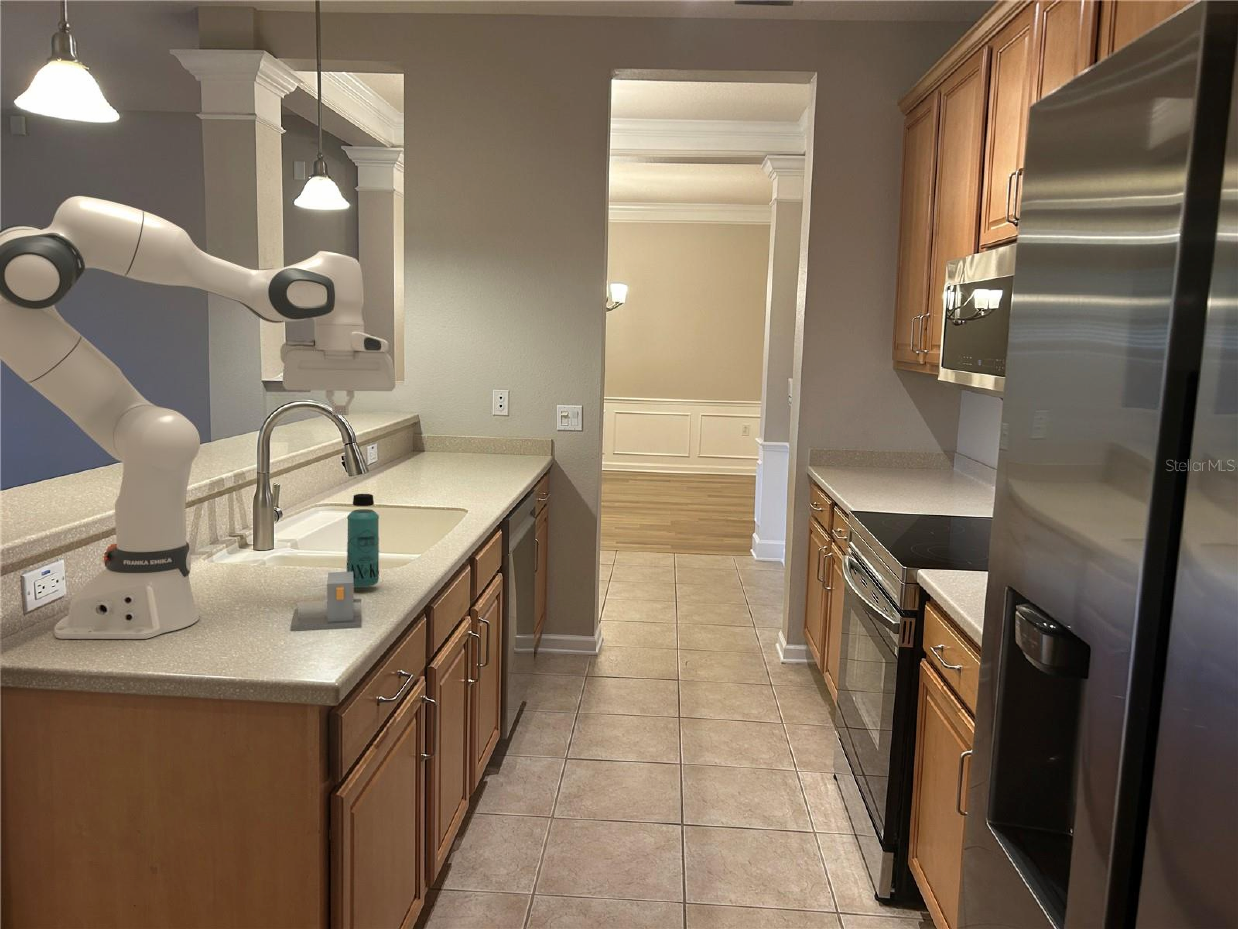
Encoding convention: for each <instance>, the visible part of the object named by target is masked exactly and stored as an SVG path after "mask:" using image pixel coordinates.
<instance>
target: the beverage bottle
mask: <svg viewBox="0 0 1238 929" xmlns="http://www.w3.org/2000/svg"><path fill="white" fill-rule="evenodd" d="M352 499H353V500H352V505H353V506H356V507H369V506H370V507H371V506H374V505H375V504H374V495H373V494H372V493H356V494H354V495H353V498H352ZM346 518H347V541H346V542H347V543H346V547H347V548H346V572H353V587H360V588H361V587H371V586H374V585H377V584H378V582H379V579H380V561H379V560H380V550H379V549H380V547H379V546H380V544H379V542H380V537H379V529H380V528H379V523H380V520H379V519H380V516H379V514H378V513H377V512H376V511H375V510H373V509H366V508H365V509H364V508H362V509H359V508H358V509H354V510H352V511H351V512H350V513H349V514H348V515H347V517H346Z"/></svg>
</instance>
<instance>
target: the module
mask: <svg viewBox="0 0 1238 929" xmlns="http://www.w3.org/2000/svg"><path fill="white" fill-rule="evenodd" d="M354 588H355V586H353V572H347V571H337V572H336V571H333V572H332V571H331V572H327V581H326V601H327V622H331V621H350V620H354V611H353V599H354V598H355V597H354V596H355V595H354V592H355V591H354Z"/></svg>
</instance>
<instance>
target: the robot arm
mask: <svg viewBox="0 0 1238 929" xmlns="http://www.w3.org/2000/svg"><path fill="white" fill-rule="evenodd" d="M86 269H97V270H102V271H106V272H109V273H112V274H115V275H118V276H123V277H126V278H128V279H132V280H136V281H139V282H146V283H149V284H150V283H151V284H155V285H164V286H176V287H177V286H178V287H179V286H180V287H182V286H184V287H190V288H194V289H197V290H202V291H205V292H207V293H211V294H215V295H216V296H221V297H224V298H226V299H229V300H233V301H235V302H238V303H240V304H241V305H242V306H244V307H245V308H246V309H248V310H249V311H250V312H251V313H252V314H254V315H255V316H256V317H257V318H259V319H260V320H262V321H264V322H268V323H274V324H282V323H285V322H301V321H305V320H307V319H312V320H313V322H314V323H313V324H314V328H313V329H314V339H313V340H311V339H305V340H299V339H289V340H288V341H286V342H285V343H283V344H282V345H281V346H280V350H279V351H280V360H281V361H282V363H283V364H284V365H283V371H282V386H283V388H284V389H286V391H318V392H319V391H325V398H326V400H327V401H328V403H329V404H330V406H331V408H332V410H331V411H332V412H331V413H332V416H349V406H350V405H351V403H352V402H353V400H354V398H355V392H393V390H395V388H396V376H395V374H396V373H395V368H394V363H393V359H392V356H390V355H389V354H388V353H387V351H388V350H389V342H388V341H387V340H385V339H384V338H379V337H377V336H375V335H373V334H368V333H365V321H364V320H363V315H362V314H363V313H362V311H363V306H364V301H365V300H364V295H365V294H364V281H363V278H364V277H363V272H362V267H361V265H360V262H359V261H358V260H357V259H356V258H355V257H353V256H352V255H350V254H347V253H344V252H340V251H337V250H336V251H334V250H333V251H332V250H325V249H324V250H323V249H322V250H319V251H317V253H316V254H314V255H313V256H311V257H309V258H307V259H305V260H302V261H300V262H297V263H294V264H291V265H287V266H283V267H278V268H261V269H252V268H247V267H244V266H241V265H238V264H237V263H236V264H235V263H233V262H230V261H227V260H224V259H222V258H220V257H216V256H213V255H210V254H208V253H206V252H205V251H203V250H201V249H200V248H198V246H196V244H195V243H194V241H193V240H192V239H191V237H190V235H189V233H187V231H186V230H185V229H183V228H182V227H180V226H178V225H177V224H175V223H173V222H171V221H169V220H166V219H165V218H162V217H160V216H158V215H156V214H153V213H150V212H148V211H145V210H142V209H139V208H136V207H132V206H130V205H126V204H122V203H118V202H114V201H110V200H107V199H102V198H96V197H89V196H83V195H77V196H75V195H74V196H71V197H69V198H67V199H65V201H63V202H62V203H61V204H60V205H59V207H58V208H57V210H56V212H55V214H54V216H53V220H52V222H51V224H49V226H47V227H46V228H42V227H39V226H37V225H33V224H25V223H21V224H13V225H9V226H6V227H4V228H2V229H0V359H1V361H2V362H3V363H4V364H5V365H6V366H7V367H9V369H11V370H12V371H13V372H14V373H15V374H16V375H17V376H18V377H20V378H21V379H22V380H23V381H24V382H26V383H27V384H28V385H29V386H30V387H32V388H33V389H34V390H36V391H37V392H38V393H40V394H41V395H42V396H43V397H45V399H47V400H48V401H49V402H51V403H52V404H53V405H54V406H56V408H58V409H59V410H61V412H63V413H64V414H65V415H67V417H69V418H70V419H71V420H72V421H73V422H74V423H75V424H76V425H77V426H78V427H79V428H80V429H81V430H82V431H83V432H84V433H85V434H86V435H87V436H88V437H90V439H91V440H93V441H94V442H95V443H96V444H97V445H99V446H100V447H101V448H102V449H103V450H104V451H106V452H107V454H108V455H110V456H111V457H112V458H113V459H115V460H117V461H118V462H121V463H122V464H123V465H122V467H123V469H122V471H123V473H122V476H121V477H122V478H121V485H120V490H119V493H118V496H117V498H116V500H115V504H114V516H115V517H114V518H115V520H114V521H115V534H116V535H115V538H116V543H113V544H110V545H109V546H108V547H107V548H106V552H104V554H103V555H104V556H102V558H103V559H102V561H103V563H104V567H105V569H103V570H102V571H101V572H99V573H98V574H97V575H95V576H94V577H92V578H91V579H90V580H89V581H87V582H86V583H85V584H84V585H82V586H81V587H80V588H79V589H78V590H76V592H75V593H74V594H73V596H72V598H71V602H70V605H69V608H68V609H69V610H68V615H66V616H64V617H63V618H61V619H60V620H59V621H58V622H57V623H56V624H55V626H54V627H53V628H54V629H53V636H54V637H55V638H57V639H63V640H64V639H66V640H67V639H68V640H69V639H72V640H73V639H79V640H81V639H82V640H87V639H89V640H90V639H91V640H94V639H95V640H96V639H98V640H99V639H101V640H106V639H107V640H114V639H115V640H124V639H125V640H145V639H150V638H154V637H156V636H159V635H161V634H166V633H170V632H173V631H176V630H182V629H184V628H186V627H189V626H192V625H193V624H195V623H197V622H198V621H199V619H200V616H199V613H198V609H197V607H196V604H195V601H194V595H193V592H192V588H191V587H192V586H191V581H190V579H191V578H190V574H191V569H192V566H191V565H192V562H191V560H192V559H191V558H192V557H191V549H190V542H188V541H187V517H186V514H187V512H186V508H187V507H186V504H187V493H188V492H187V491H188V486H189V480H190V475H191V471H192V470H191V469H192V467H193V466H192V464H193V462H194V460H195V458H196V457H197V456H198V455H199V451H200V447H201V437H200V434H199V431H198V429H197V427H196V426H195V425H194V424H193V422H192V421H190V420H189V418H187V417H186V416H184V415H183V414H182V413H180V412H179V411H176V410H174V409H170V408H166V407H161V406H157V405H155V404H153V403H152V402H150V401H149V400H147V399H146V398H145V397H144V396H143V395H142V394H141V393H140V392H139V391H138V389H136V388H135V387H134V385H133V384H132V383H131V382H130V381H129V380H128V378H126V377H125V375H124V374H123V372H122V370H121V368H119V367H118V366H117V365H116V364H115V363H114V362H113V361H112V360H110V358H108V357H107V356H106V355H105V354H104V353H103V352H101V351H100V350H99V349H98V348H97V347H96V346H95V345H93V344H92V343H91V342H90V341H88V339H87V338H85V337H84V336H83V335H82V334H81V333H80V332H79V331H77V329H75V328H74V327H72V326H71V325H70V324H69V322H67V321H66V320H65V319H64V318H63V317H62V316H61V315H60V313H59V311H57V309H56V306H55V305H57V304H59V303H60V302H62V301H63V299H65V297H67V296H68V295H69V293H70V292H71V291H72V289H73V288H74V286H75V284H76V283H77V282H78V281H79V279H80V278H81V276H82V275H83V274H84V273H85V271H86ZM336 391H337V392H339V391H340V392H342V391H343V392H344V391H345V392H346V397H347V401H346V403H345V404H341V405H338V404H336V402H335V401H334V399H333V398H332V397H334V396H335V392H336Z"/></svg>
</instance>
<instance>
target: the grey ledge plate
mask: <svg viewBox="0 0 1238 929" xmlns="http://www.w3.org/2000/svg"><path fill="white" fill-rule="evenodd" d="M353 611H354V620H350V621H331V622H327V600H315V601H313V600H312V601H311V600H310V601H309V600H308V601H299V602H297V608H295V609H294V610H293V614H292V619H291V621H290V622H291V624H290V632H298V631H318V630H337V629H351V628H353V629H356V628H362V598H359V599H358V598H356V599H353Z"/></svg>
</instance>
